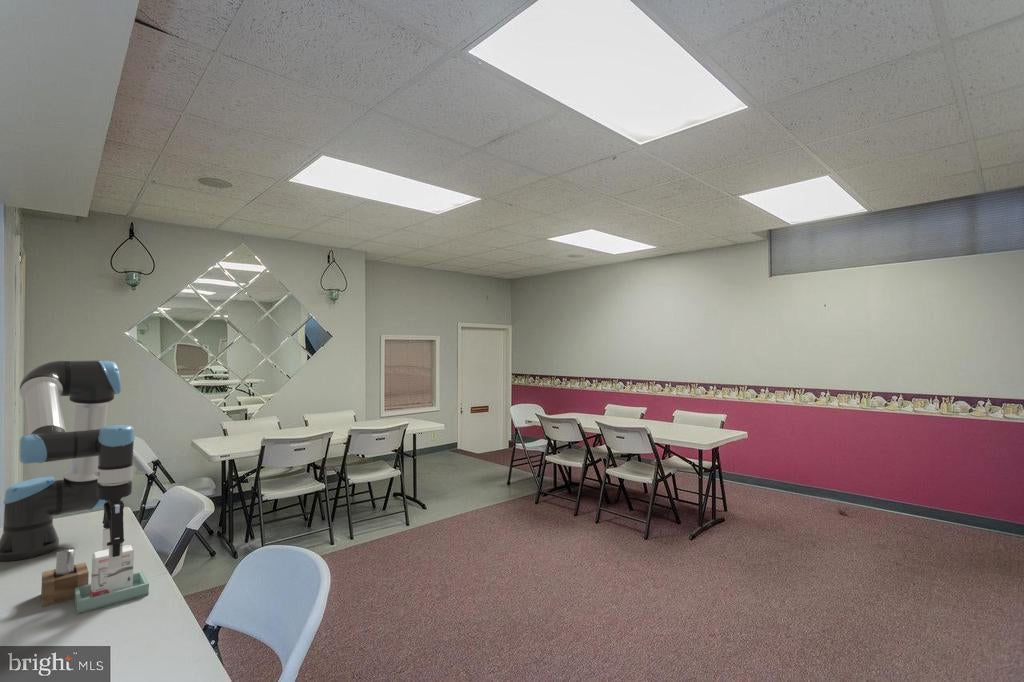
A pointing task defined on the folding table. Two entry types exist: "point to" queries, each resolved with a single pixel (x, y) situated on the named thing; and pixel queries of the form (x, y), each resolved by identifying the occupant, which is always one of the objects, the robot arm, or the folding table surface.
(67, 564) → the cylinder
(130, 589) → the tray
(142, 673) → the folding table surface
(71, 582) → the wooden square holder
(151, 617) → the folding table surface
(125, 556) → the ink box
